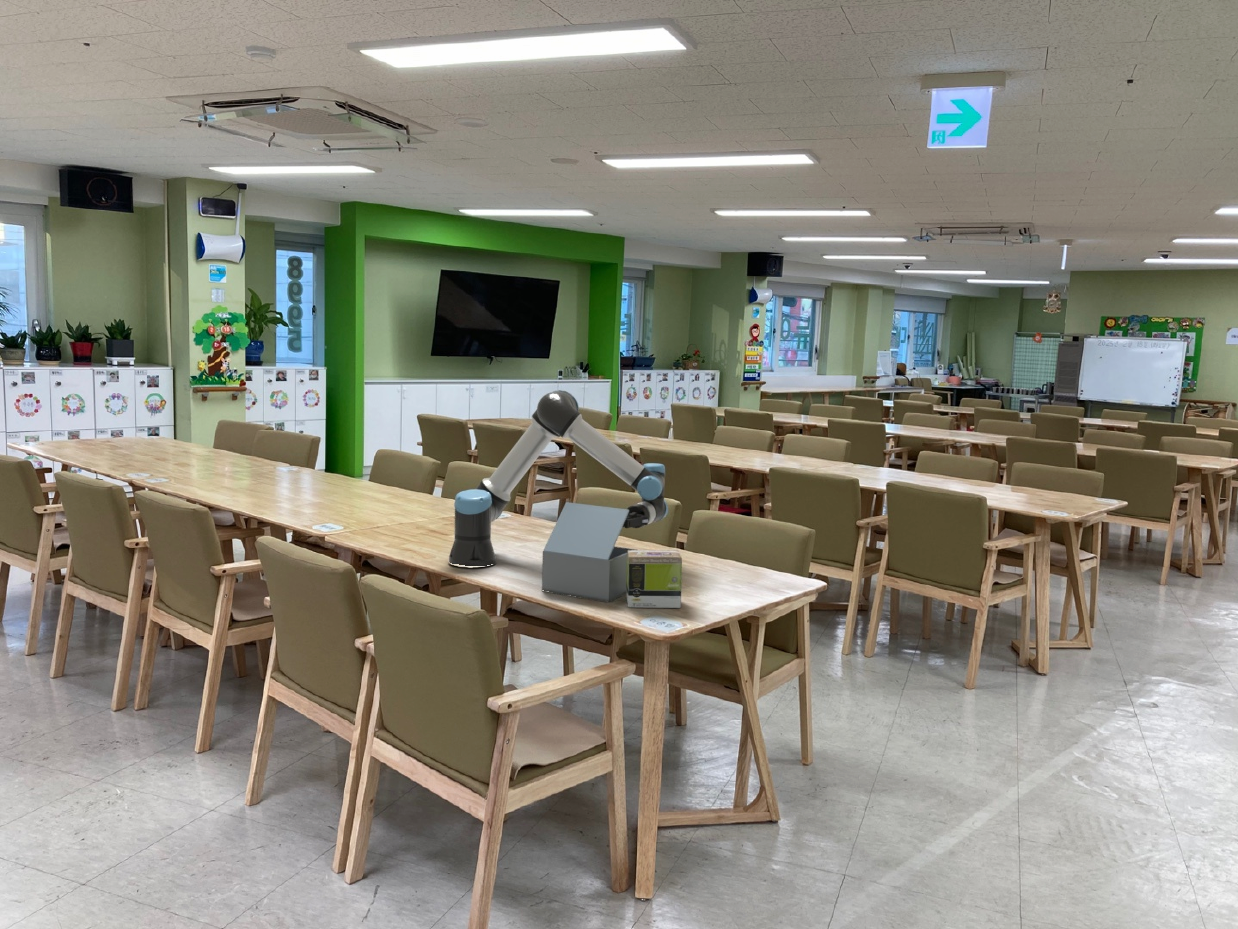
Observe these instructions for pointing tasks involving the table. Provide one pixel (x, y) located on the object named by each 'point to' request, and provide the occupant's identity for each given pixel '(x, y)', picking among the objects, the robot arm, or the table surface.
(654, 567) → the tea box
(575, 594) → the storage box
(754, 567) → the table surface
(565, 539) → the lid
